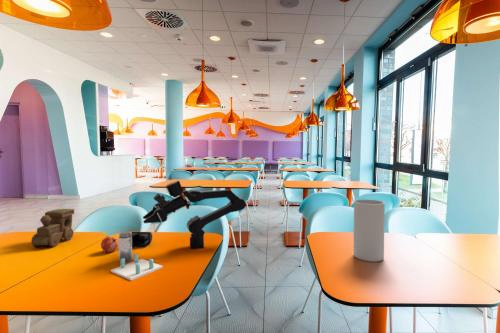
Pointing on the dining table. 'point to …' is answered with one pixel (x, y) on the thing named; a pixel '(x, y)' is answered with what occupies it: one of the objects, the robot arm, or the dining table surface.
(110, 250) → the pomegranate
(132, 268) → the tray
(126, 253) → the shaker
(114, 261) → the dining table surface
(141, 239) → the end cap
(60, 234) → the wooden toy train
